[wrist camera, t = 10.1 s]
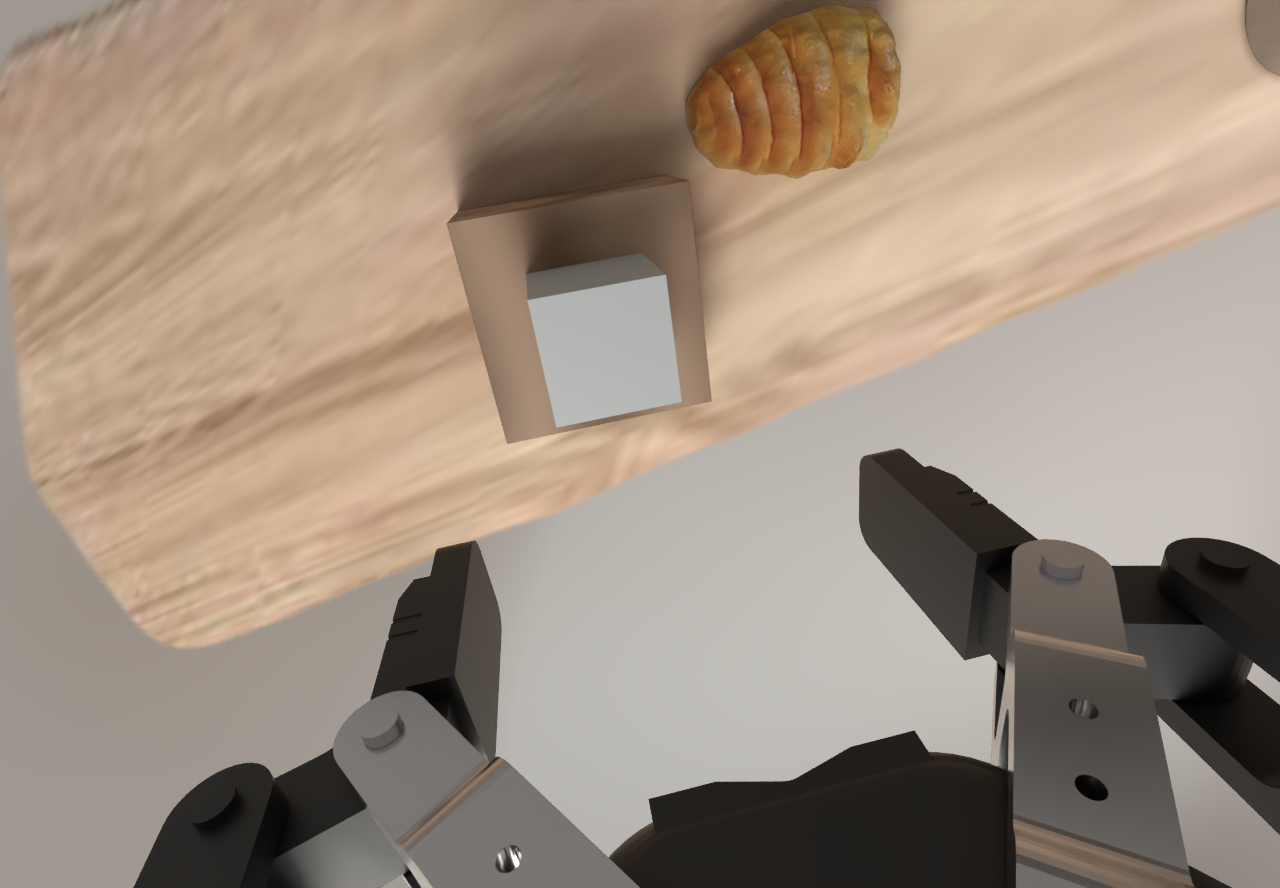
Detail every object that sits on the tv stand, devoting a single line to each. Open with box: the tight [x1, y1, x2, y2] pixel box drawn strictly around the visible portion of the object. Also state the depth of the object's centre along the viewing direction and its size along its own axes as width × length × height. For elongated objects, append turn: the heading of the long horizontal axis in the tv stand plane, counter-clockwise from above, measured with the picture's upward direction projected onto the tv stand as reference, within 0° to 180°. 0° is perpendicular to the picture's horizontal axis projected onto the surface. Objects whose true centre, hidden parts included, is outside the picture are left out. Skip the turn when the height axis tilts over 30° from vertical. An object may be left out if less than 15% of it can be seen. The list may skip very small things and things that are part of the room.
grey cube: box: [526, 253, 682, 428], centre depth 25 cm, size 5×5×5 cm
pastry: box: [686, 4, 901, 179], centre depth 28 cm, size 9×7×4 cm
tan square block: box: [447, 175, 712, 444], centre depth 30 cm, size 10×10×5 cm
